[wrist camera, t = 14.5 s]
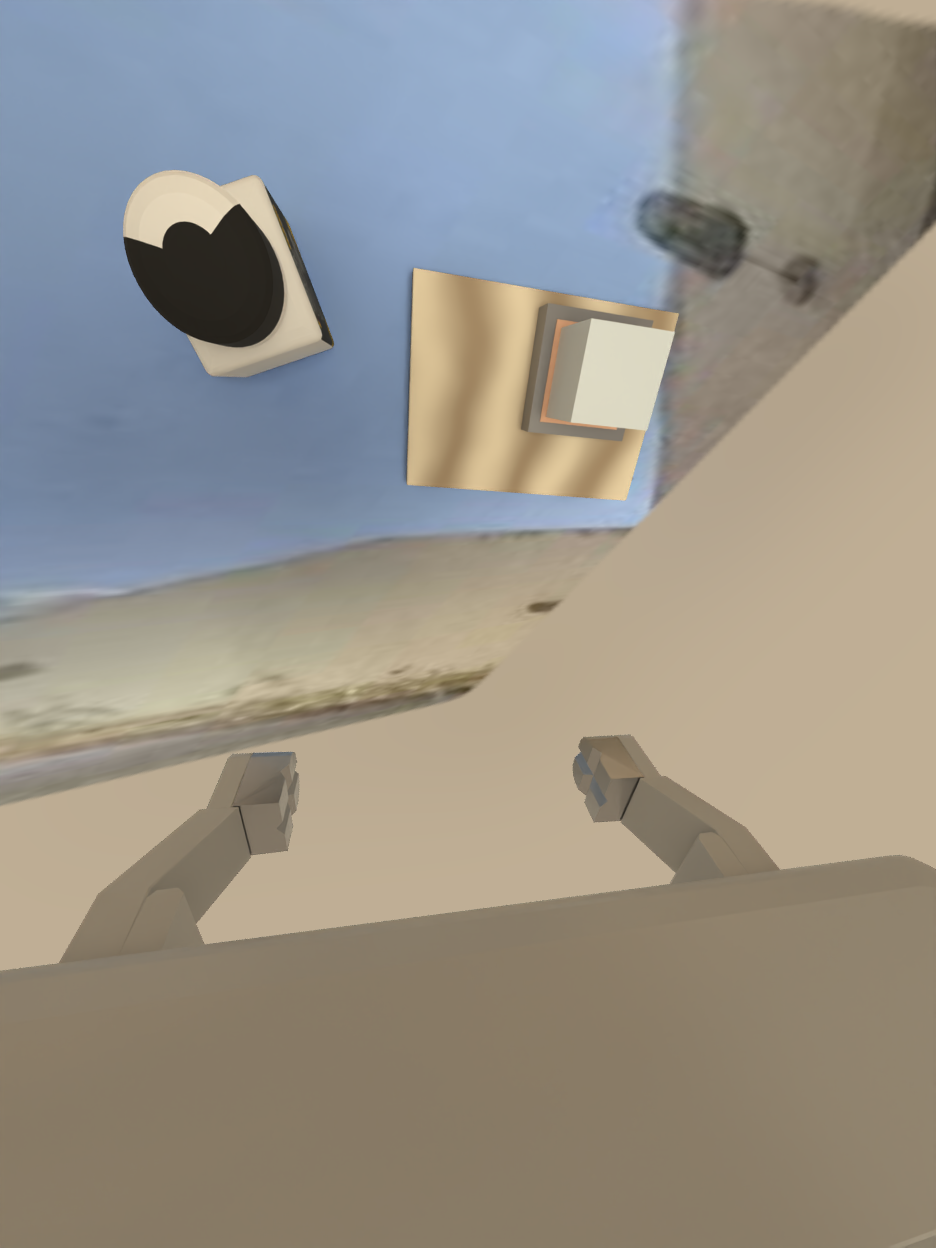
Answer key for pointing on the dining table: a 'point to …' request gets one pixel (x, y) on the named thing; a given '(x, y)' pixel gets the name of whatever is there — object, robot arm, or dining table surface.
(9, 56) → the dining table surface
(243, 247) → the medicine bottle
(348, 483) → the dining table surface
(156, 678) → the dining table surface
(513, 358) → the board
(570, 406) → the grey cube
